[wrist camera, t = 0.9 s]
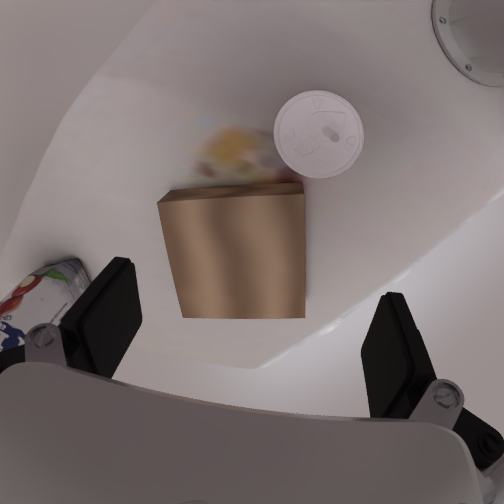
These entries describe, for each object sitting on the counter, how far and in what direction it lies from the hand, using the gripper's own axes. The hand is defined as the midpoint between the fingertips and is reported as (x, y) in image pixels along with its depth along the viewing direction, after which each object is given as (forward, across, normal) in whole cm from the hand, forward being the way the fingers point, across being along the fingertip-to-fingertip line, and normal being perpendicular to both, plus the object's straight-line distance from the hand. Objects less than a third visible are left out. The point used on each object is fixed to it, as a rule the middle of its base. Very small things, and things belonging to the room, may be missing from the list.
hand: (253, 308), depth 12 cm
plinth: (+22, +3, +10) cm, 24 cm away
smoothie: (+23, -2, -5) cm, 23 cm away
